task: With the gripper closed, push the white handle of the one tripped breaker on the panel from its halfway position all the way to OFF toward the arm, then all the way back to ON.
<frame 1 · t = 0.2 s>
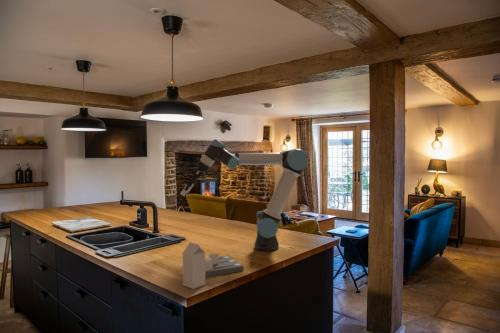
hand: (184, 193, 205), 36 cm above the counter, tool tilted 35°, fingers open, 13 cm apart
breaker panel: (213, 268, 181), on the counter
milk carton: (194, 285, 158), on the counter
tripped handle: (213, 258, 180), point 5 cm above the counter, slide at 0.0 cm
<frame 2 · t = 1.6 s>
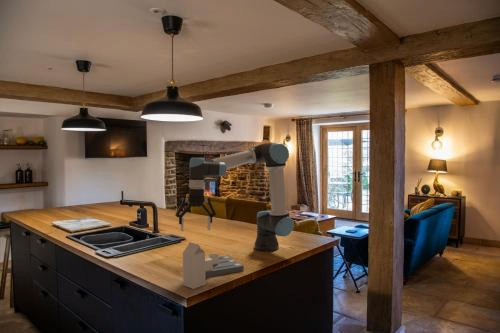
hand: (195, 230, 178), 20 cm above the counter, tool pointing down, fingers open, 13 cm apart
nothing on the counter moved.
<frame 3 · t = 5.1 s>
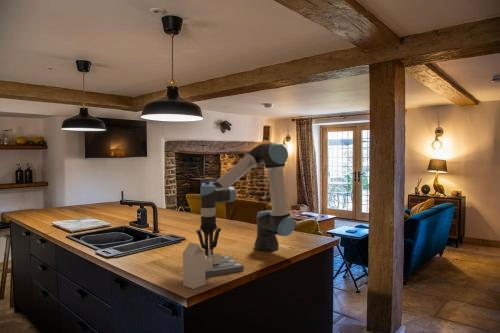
hand: (209, 261, 179), 4 cm above the counter, tool pointing down, fingers closed
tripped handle: (216, 257, 181), point 5 cm above the counter, slide at -1.2 cm, touching gripper
everything else where it was.
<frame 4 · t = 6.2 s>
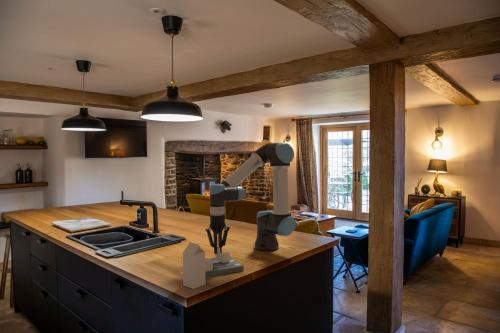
hand: (217, 259, 182), 4 cm above the counter, tool pointing down, fingers closed
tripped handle: (224, 256, 183), point 5 cm above the counter, slide at -6.0 cm, touching gripper
everything else where it was.
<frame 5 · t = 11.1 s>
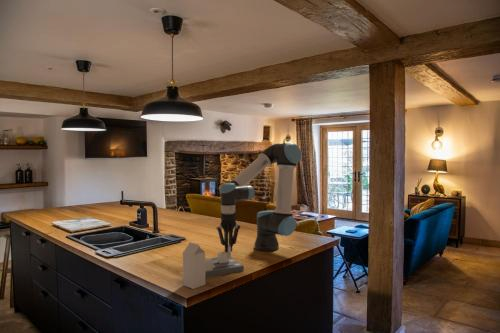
hand: (228, 257, 184), 4 cm above the counter, tool pointing down, fingers closed
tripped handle: (222, 256, 183), point 5 cm above the counter, slide at -4.8 cm, touching gripper
everything else where it was.
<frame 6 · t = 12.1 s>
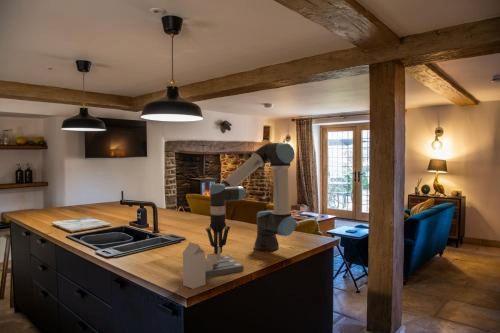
hand: (218, 259, 182), 4 cm above the counter, tool pointing down, fingers closed
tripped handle: (211, 258, 180), point 5 cm above the counter, slide at 1.0 cm, touching gripper
everything else where it was.
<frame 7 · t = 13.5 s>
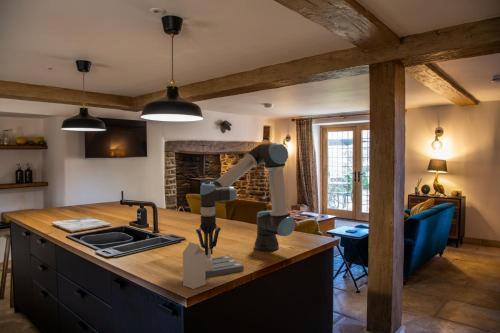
hand: (208, 261, 179), 4 cm above the counter, tool pointing down, fingers closed
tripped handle: (202, 260, 178), point 5 cm above the counter, slide at 6.1 cm, touching gripper
everything else where it was.
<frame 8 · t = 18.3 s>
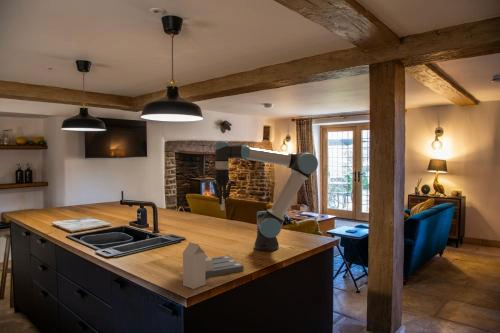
hand: (222, 209, 202), 26 cm above the counter, tool pointing down, fingers closed
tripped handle: (202, 259, 178), point 5 cm above the counter, slide at 6.0 cm
everything else where it was.
at the end: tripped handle slide at 6.0 cm; milk carton moved 0.2 cm from its start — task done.
